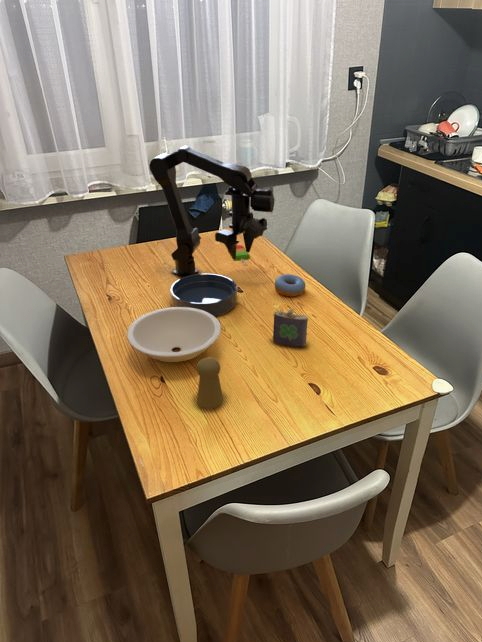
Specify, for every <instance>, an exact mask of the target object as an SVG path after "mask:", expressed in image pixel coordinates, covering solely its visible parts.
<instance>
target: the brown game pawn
mask: <svg viewBox="0 0 482 642" xmlns="http://www.w3.org/2000/svg"><path fill="white" fill-rule="evenodd" d="M196 372H197V374H198V375H199V377H198V389H197V397H196V398H197V399H196V401H197V405H198V406H199V407H201V408H202V409H207V410H211V409H216V408H219V407H220V406H221V405H222V404H223V403H224V396H223V395H224V394H223V391H222V385H221V380H220V376H219V374H220V372H221V363H220V362H219V361H218V360H217V359H216V358H214V357H204V358H202V359H200V360H199V361H198V362H197V365H196Z"/></svg>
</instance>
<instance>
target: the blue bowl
mask: <svg viewBox="0 0 482 642" xmlns="http://www.w3.org/2000/svg"><path fill="white" fill-rule="evenodd" d="M237 285H238V284H237V283H236V282H235V280H233V279H231V278H230V277H228V276H225V275H221V274H218V273H217V274H216V273H195V274H192V275H189V276H186V277H180V278H179V279H177V280H176V281H174V282H173V283H172V285H171V286H170V291H169V293H170V301H171V305H172V306H171V307H189V308H195V309H200V310H203V311H205V312H208V313H210V314H211V315H213V316H214V317H215V318H216V317H218V316H222V315H224V314H226V313H228V312H230V311H231V310H233V309H234V308H235V306H236V305H237V303H238V286H237Z"/></svg>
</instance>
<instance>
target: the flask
mask: <svg viewBox="0 0 482 642" xmlns="http://www.w3.org/2000/svg"><path fill="white" fill-rule="evenodd" d="M294 311H295V309H294V308H291V309H288V310H287V312H285V311H283V310H278V311H275V312H274V314H273V326H272V327H273V330H272V342H273V343H274V344H276V345H280V346H283V347H291V348H293V347H294V348H299V349H300V348H305V347H306V345H307V337H308V322H309V318H308V316H307V315H304V314H294Z"/></svg>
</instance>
